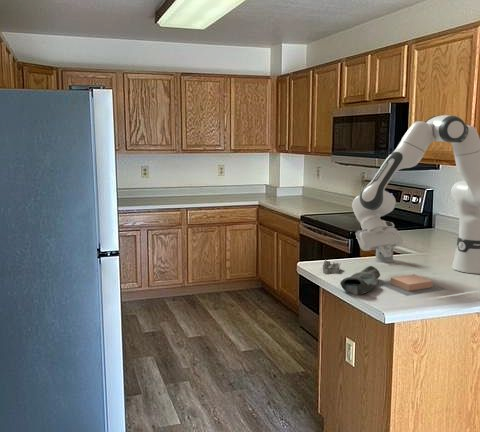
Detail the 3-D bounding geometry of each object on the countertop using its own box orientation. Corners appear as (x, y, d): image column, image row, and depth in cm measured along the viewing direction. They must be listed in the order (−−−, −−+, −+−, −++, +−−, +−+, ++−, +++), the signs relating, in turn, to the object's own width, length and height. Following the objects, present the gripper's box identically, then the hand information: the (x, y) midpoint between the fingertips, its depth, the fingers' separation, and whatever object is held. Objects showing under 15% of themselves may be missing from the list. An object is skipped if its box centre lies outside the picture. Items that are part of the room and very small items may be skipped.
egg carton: (324, 267, 226) (325, 259, 226) (341, 269, 224) (341, 260, 223) (321, 273, 217) (321, 264, 216) (338, 275, 214) (338, 266, 214)
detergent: (367, 298, 184) (392, 281, 204) (366, 279, 183) (391, 263, 203) (334, 294, 192) (361, 278, 212) (333, 275, 191) (360, 261, 211)
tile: (414, 274, 204) (433, 281, 195) (413, 280, 204) (432, 287, 195) (390, 277, 199) (408, 284, 190) (390, 284, 199) (408, 291, 190)
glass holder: (394, 258, 242) (396, 228, 240) (392, 266, 229) (394, 233, 226) (375, 257, 245) (377, 226, 243) (372, 264, 232) (374, 232, 229)
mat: (413, 278, 210) (413, 276, 210) (447, 290, 194) (447, 289, 194) (374, 283, 202) (374, 282, 202) (406, 297, 186) (406, 295, 185)
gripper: (357, 226, 209) (371, 254, 202) (396, 222, 218) (411, 249, 211) (350, 235, 214) (364, 262, 207) (388, 230, 222) (403, 257, 215)
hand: (388, 256), depth 209 cm, fingers closed
